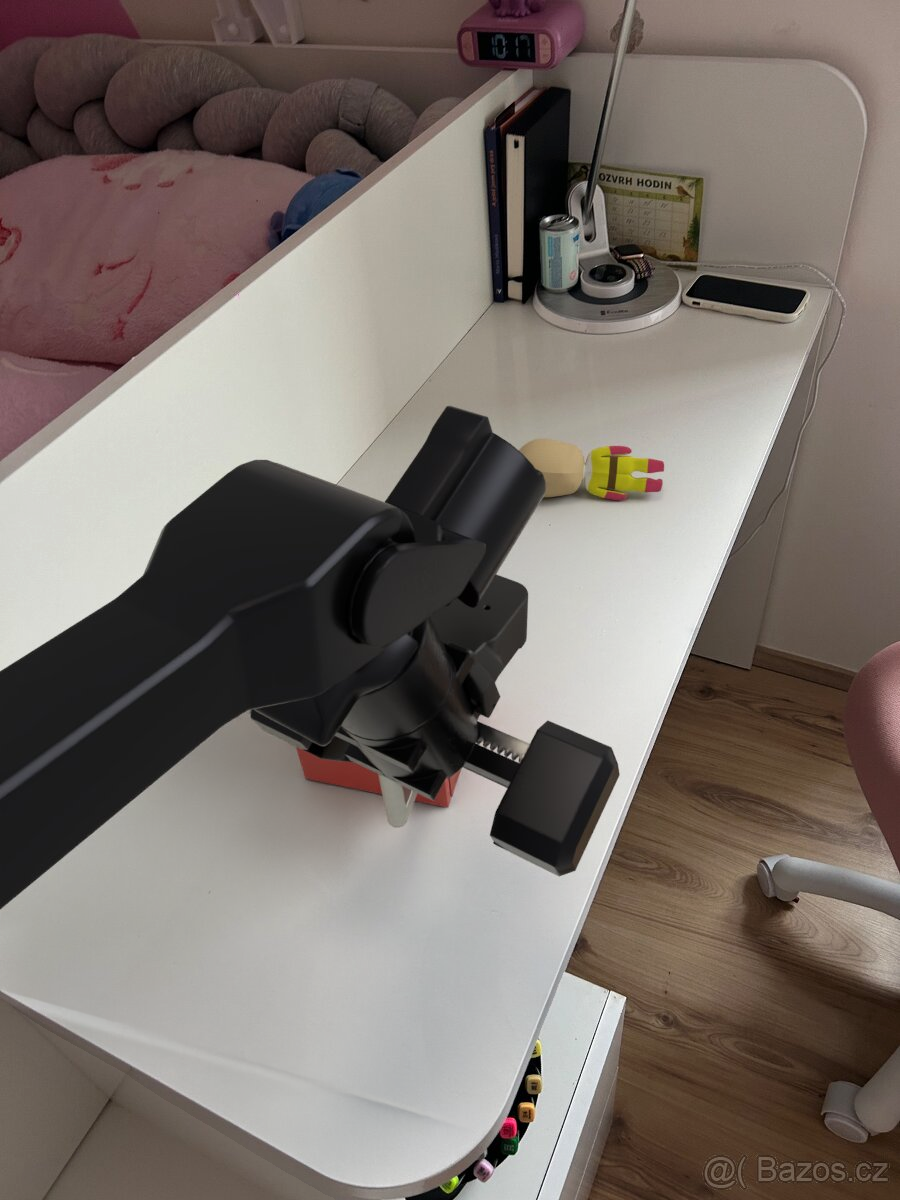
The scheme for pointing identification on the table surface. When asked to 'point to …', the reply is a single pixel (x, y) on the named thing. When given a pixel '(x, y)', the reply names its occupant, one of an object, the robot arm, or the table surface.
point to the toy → (591, 469)
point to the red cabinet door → (370, 785)
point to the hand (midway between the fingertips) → (458, 788)
